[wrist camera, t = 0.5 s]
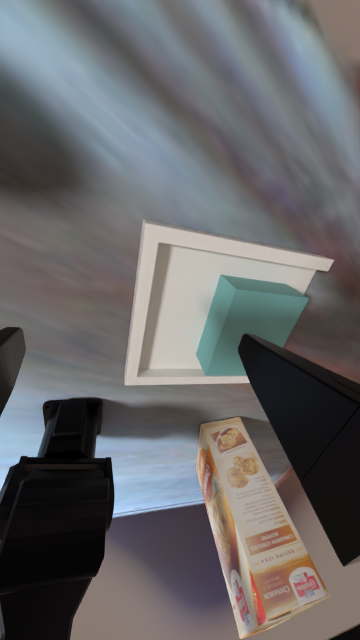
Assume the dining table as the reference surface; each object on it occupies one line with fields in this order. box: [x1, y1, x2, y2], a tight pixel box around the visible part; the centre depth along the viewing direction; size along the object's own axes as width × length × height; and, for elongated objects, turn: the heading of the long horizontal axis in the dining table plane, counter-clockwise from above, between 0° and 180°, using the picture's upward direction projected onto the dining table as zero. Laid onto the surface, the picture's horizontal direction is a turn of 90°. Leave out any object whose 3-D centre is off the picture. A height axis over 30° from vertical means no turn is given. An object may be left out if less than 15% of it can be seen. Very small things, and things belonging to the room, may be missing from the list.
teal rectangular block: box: [196, 275, 309, 376], centre depth 24 cm, size 10×8×4 cm
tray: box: [124, 219, 334, 385], centre depth 25 cm, size 17×19×2 cm
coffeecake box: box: [196, 416, 330, 639], centre depth 32 cm, size 15×7×20 cm, turn 179°
